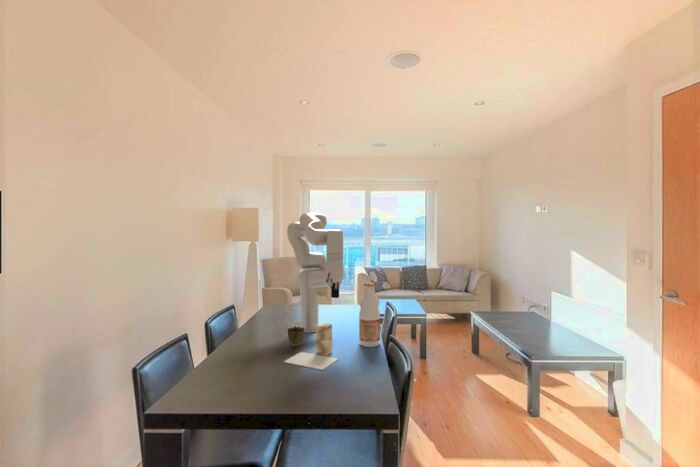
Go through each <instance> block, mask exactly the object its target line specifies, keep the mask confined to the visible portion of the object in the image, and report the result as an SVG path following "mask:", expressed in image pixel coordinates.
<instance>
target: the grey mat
mask: <svg viewBox="0 0 700 467" xmlns="http://www.w3.org/2000/svg"><path fill="white" fill-rule="evenodd" d="M338 360H339V358H337V357H331V356H328V355H327V356H324V355H318V354H316V353H315V354H314V353H311V352H310V353H308V352H305V351H304V352H303V351H301V352H298V353H296V354H295V355H292V356H291V357H289V358H288V359H286V360H284V361H283V363H284V364H288V365H289V364H291V365H293V366H298V367H299V366H300V367H305V368H309V369H312V370H313V369H314V370H318V371H319V370H320V371H324V370H326V369H327V368H329V367H330V366H332V365H333V364H334V363H335V362H338Z"/></svg>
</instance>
